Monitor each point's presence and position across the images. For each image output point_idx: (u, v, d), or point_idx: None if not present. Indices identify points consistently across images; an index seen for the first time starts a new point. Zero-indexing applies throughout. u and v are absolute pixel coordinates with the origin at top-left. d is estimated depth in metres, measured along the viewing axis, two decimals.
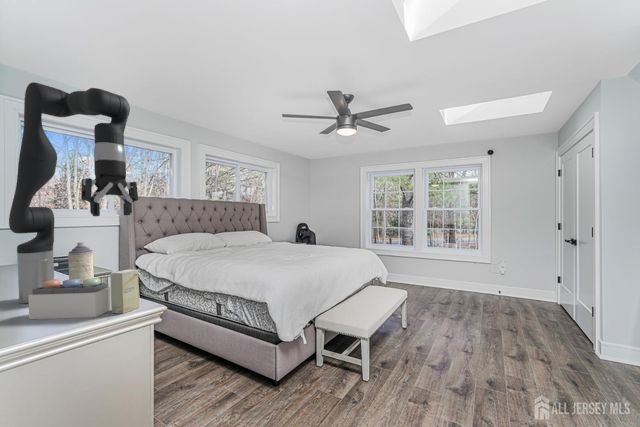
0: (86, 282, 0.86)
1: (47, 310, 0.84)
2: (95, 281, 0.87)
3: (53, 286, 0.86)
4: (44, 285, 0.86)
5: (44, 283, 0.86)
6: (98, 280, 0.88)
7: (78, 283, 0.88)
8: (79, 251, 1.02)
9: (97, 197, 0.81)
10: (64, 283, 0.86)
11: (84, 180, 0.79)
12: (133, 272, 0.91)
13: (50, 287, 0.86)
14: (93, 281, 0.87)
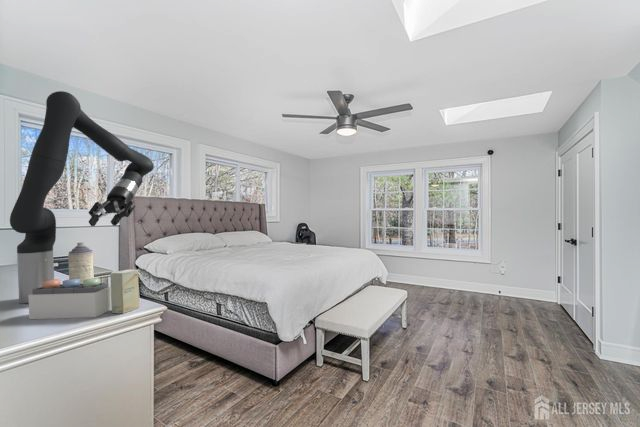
0: (86, 282, 0.86)
1: (47, 310, 0.84)
2: (95, 281, 0.87)
3: (53, 286, 0.86)
4: (44, 285, 0.86)
5: (44, 283, 0.86)
6: (98, 280, 0.88)
7: (78, 283, 0.88)
8: (79, 251, 1.02)
9: None
10: (64, 283, 0.86)
11: (133, 204, 1.08)
12: (133, 272, 0.91)
13: (50, 287, 0.86)
14: (93, 281, 0.87)
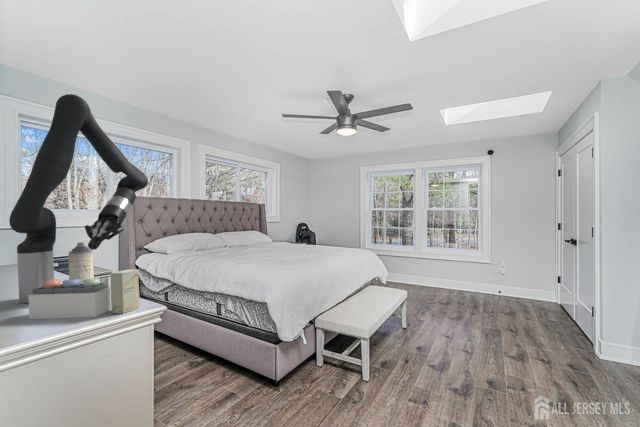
0: (86, 282, 0.86)
1: (47, 310, 0.84)
2: (95, 281, 0.87)
3: (53, 286, 0.86)
4: (44, 285, 0.86)
5: (44, 283, 0.86)
6: (98, 280, 0.88)
7: (78, 283, 0.88)
8: (79, 251, 1.02)
9: None
10: (64, 283, 0.86)
11: (121, 228, 1.02)
12: (133, 272, 0.91)
13: (50, 287, 0.86)
14: (93, 281, 0.87)
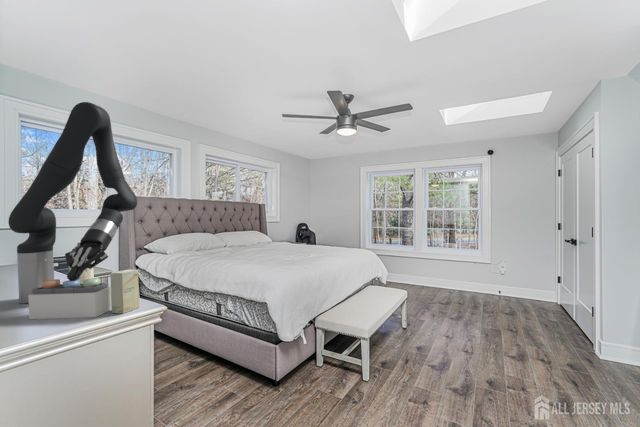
0: (86, 282, 0.86)
1: (47, 310, 0.84)
2: (95, 281, 0.87)
3: (53, 286, 0.86)
4: (44, 285, 0.86)
5: (44, 283, 0.86)
6: (98, 280, 0.88)
7: (78, 284, 0.88)
8: None
9: None
10: (64, 284, 0.86)
11: (104, 255, 0.93)
12: (133, 272, 0.91)
13: (50, 287, 0.86)
14: (93, 281, 0.87)
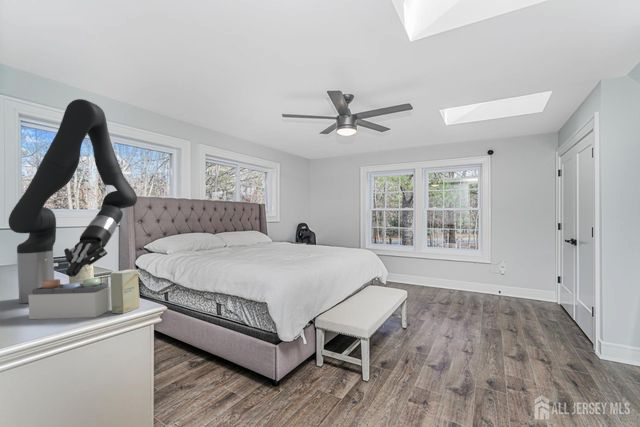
0: (86, 282, 0.86)
1: (47, 310, 0.84)
2: (95, 281, 0.87)
3: (53, 286, 0.86)
4: (44, 285, 0.86)
5: (44, 283, 0.86)
6: (98, 280, 0.88)
7: None
8: None
9: None
10: (64, 287, 0.86)
11: (104, 252, 0.94)
12: (133, 272, 0.91)
13: (50, 287, 0.86)
14: (93, 281, 0.87)
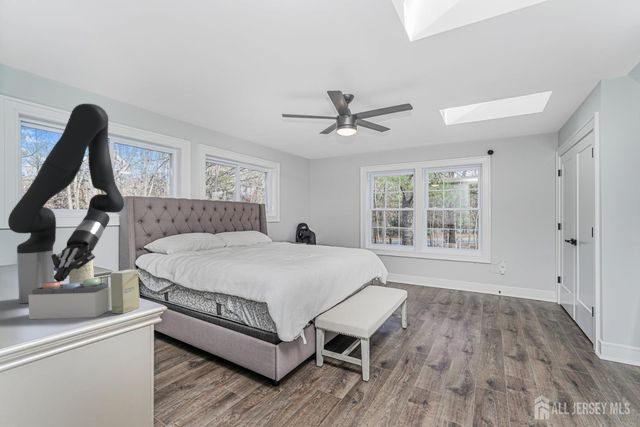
0: (86, 282, 0.86)
1: (47, 310, 0.84)
2: (95, 281, 0.87)
3: None
4: (44, 287, 0.86)
5: (44, 285, 0.86)
6: (98, 280, 0.88)
7: None
8: None
9: None
10: (64, 287, 0.86)
11: (91, 256, 0.94)
12: (133, 272, 0.91)
13: None
14: (93, 281, 0.87)
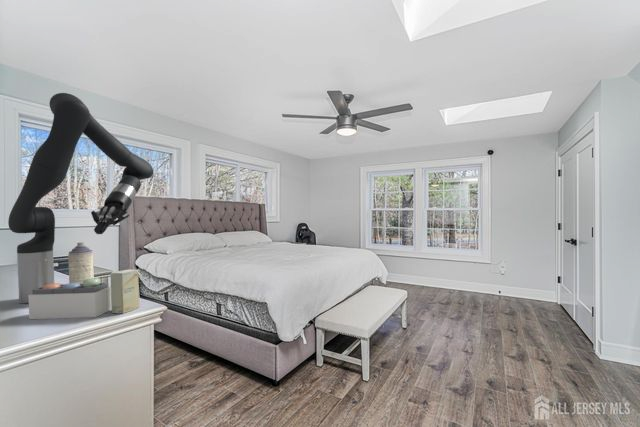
0: (86, 282, 0.86)
1: (47, 310, 0.84)
2: (95, 281, 0.87)
3: None
4: None
5: (44, 287, 0.86)
6: (98, 280, 0.88)
7: None
8: (79, 251, 1.02)
9: None
10: (64, 287, 0.86)
11: (126, 214, 1.04)
12: (133, 272, 0.91)
13: None
14: (93, 281, 0.87)
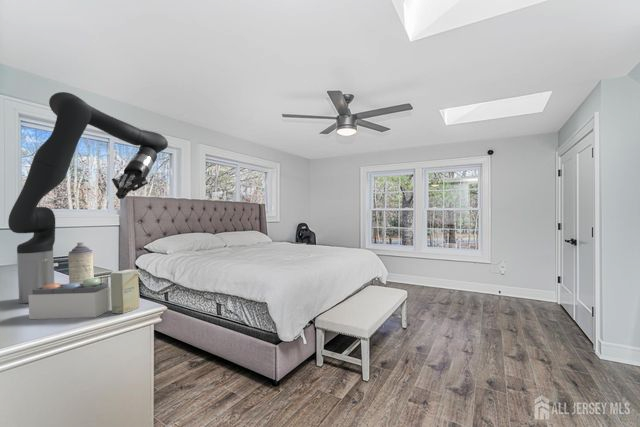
0: (86, 282, 0.86)
1: (47, 310, 0.84)
2: (95, 281, 0.87)
3: None
4: None
5: (44, 287, 0.86)
6: (98, 280, 0.88)
7: None
8: (79, 251, 1.02)
9: None
10: (64, 287, 0.86)
11: (145, 181, 1.09)
12: (133, 272, 0.91)
13: None
14: (93, 281, 0.87)
